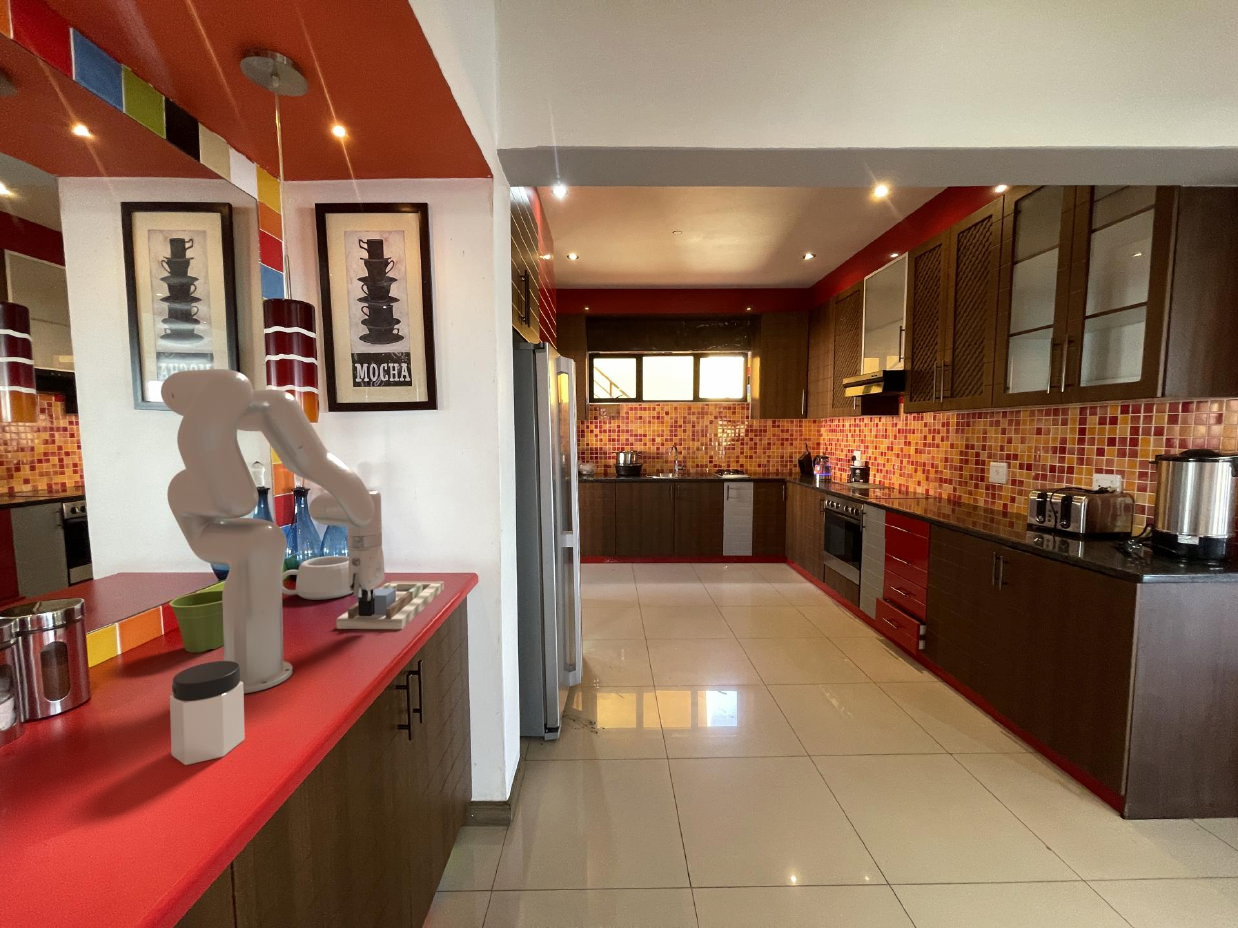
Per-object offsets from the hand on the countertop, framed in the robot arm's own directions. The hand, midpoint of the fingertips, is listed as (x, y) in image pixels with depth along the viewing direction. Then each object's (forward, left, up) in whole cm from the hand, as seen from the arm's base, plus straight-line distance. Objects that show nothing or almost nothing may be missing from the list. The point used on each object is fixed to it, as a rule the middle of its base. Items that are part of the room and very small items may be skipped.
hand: (366, 614), depth 130 cm
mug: (-16, +37, -4) cm, 40 cm away
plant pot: (-33, +1, -4) cm, 33 cm away
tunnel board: (+6, +18, -4) cm, 19 cm away
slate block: (+2, +7, -2) cm, 8 cm away
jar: (-18, -45, -4) cm, 49 cm away
